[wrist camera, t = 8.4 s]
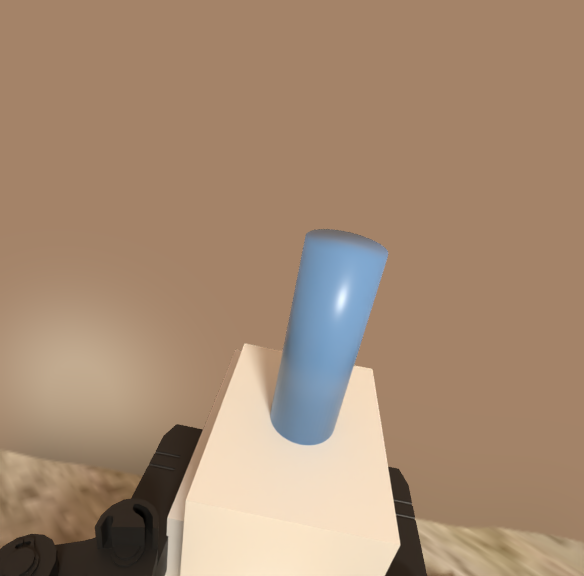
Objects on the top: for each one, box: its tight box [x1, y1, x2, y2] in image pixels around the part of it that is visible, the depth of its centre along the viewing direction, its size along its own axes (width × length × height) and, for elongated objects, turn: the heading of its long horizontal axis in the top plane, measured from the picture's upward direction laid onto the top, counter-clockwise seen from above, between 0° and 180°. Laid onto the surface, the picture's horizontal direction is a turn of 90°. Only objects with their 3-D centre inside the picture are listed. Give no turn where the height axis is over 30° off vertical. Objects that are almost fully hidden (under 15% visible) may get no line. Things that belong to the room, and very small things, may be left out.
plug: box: [180, 229, 400, 576], centre depth 9 cm, size 4×5×16 cm, turn 175°
